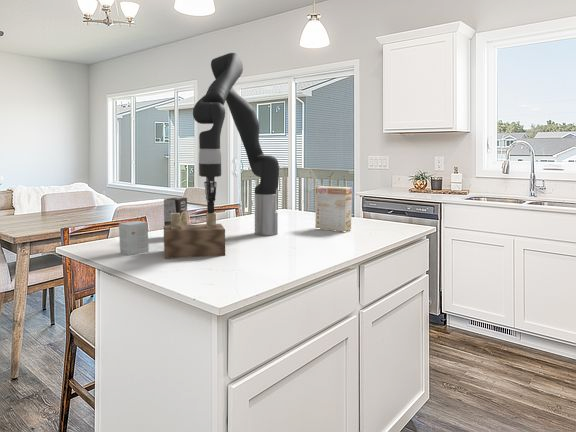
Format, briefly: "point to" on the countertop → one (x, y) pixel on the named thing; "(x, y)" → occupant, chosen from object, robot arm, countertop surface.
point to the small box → (133, 237)
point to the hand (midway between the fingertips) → (210, 212)
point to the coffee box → (175, 210)
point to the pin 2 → (210, 220)
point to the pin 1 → (175, 220)
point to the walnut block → (194, 241)
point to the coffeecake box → (333, 208)
